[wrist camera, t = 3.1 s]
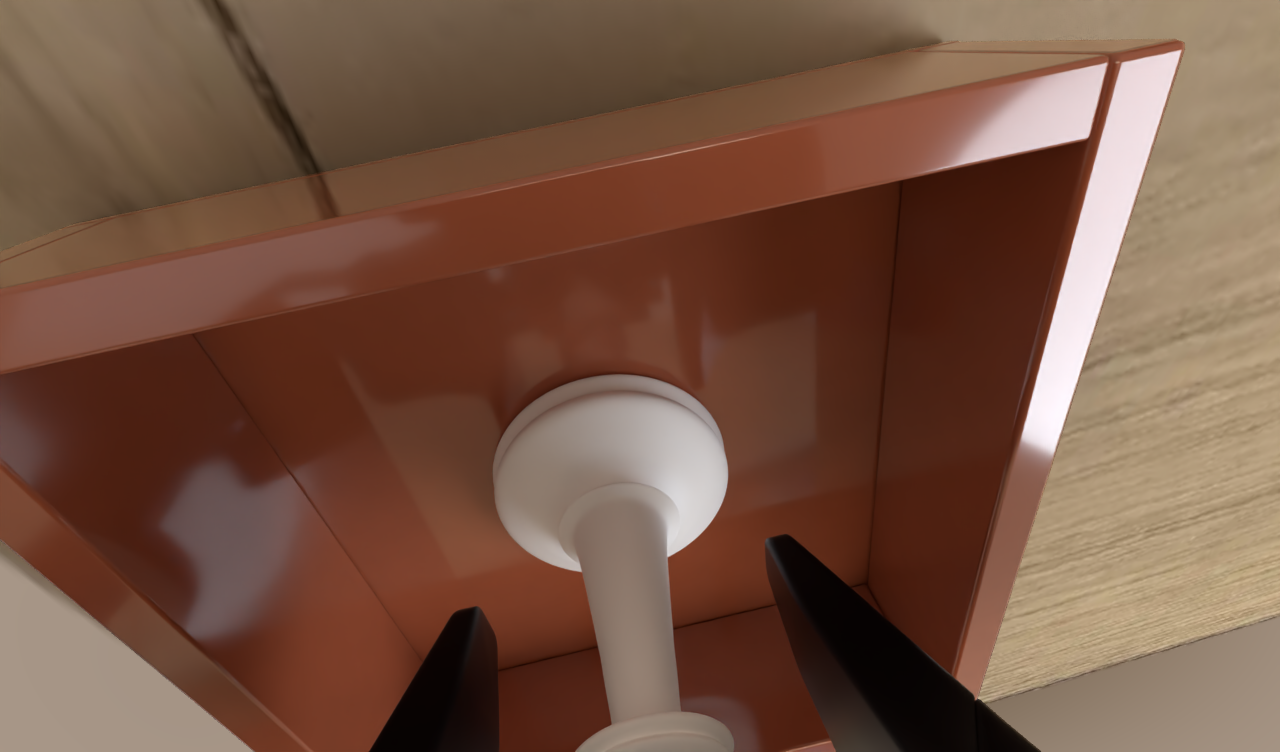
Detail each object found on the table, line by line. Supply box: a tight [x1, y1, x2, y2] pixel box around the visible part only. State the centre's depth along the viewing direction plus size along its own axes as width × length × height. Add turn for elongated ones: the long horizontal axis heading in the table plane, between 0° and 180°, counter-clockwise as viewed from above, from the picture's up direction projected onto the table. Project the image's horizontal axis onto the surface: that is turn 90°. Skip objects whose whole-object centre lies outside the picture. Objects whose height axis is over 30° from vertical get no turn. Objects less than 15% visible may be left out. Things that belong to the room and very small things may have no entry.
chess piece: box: [493, 374, 734, 752], centre depth 7 cm, size 5×5×10 cm
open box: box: [0, 39, 1185, 752], centre depth 10 cm, size 14×14×4 cm
